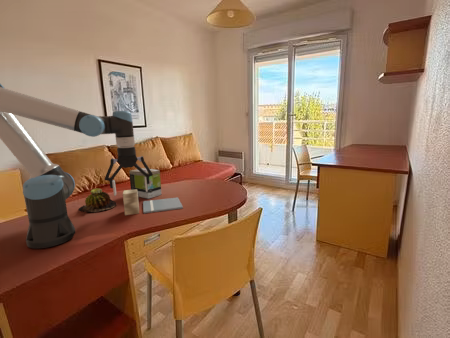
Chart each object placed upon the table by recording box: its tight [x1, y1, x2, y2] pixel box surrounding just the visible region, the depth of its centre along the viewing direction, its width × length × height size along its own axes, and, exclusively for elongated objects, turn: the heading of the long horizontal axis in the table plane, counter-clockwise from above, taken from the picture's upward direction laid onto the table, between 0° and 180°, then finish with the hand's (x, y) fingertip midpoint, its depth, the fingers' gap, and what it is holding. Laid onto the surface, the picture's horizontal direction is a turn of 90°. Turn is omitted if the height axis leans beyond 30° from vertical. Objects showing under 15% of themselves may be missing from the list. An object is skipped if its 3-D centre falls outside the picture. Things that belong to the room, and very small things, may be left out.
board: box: [142, 197, 184, 214], centre depth 121 cm, size 18×16×1 cm
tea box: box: [128, 167, 162, 200], centre depth 138 cm, size 15×10×15 cm, turn 58°
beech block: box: [122, 189, 140, 216], centre depth 112 cm, size 6×6×10 cm
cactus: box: [78, 187, 118, 213], centre depth 119 cm, size 17×16×10 cm
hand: (131, 192), depth 111 cm, fingers open, 13 cm apart
